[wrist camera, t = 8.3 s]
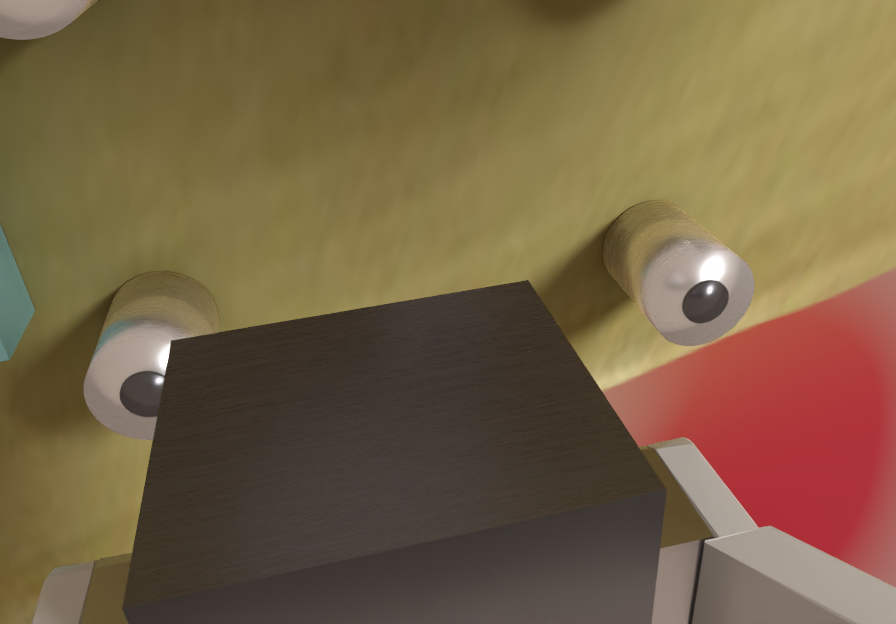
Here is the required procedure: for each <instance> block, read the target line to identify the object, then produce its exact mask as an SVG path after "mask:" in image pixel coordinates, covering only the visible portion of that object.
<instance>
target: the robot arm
mask: <svg viewBox="0 0 896 624" xmlns="http://www.w3.org/2000/svg"><path fill="white" fill-rule="evenodd" d="M639 448H640V450H641V451H642V453H643V454H644V456H645V457H646V459H647V460H648V462H649V463H650V465H651V466H652V468H653V469H654V471H655V472H656V474H657V475H658V477H659V479H660V480H661V482H662V483H663V485H664V486H665V488H666V489H667V493H666V502H665V511H664V519H663V528H662V537H661V545H660V554H659V563H658V572H657V580H656V589H655V598H654V606H653V615H652V624H896V588H895V587H893V586H891V585H889V584H887V583H885V582H883V581H881V580H879V579H877V578H875V577H873V576H871V575H869V574H867V573H865V572H863V571H861V570H859V569H857V568H855V567H853V566H851V565H849V564H847V563H845V562H843V561H841V560H839V559H837V558H834V557H832V556H830V555H828V554H826V553H824V552H822V551H820V550H818V549H816V548H814V547H812V546H810V545H808V544H806V543H804V542H802V541H800V540H798V539H796V538H794V537H792V536H790V535H788V534H786V533H784V532H782V531H780V530H778V529H776V528H774V527H772V526H766V527H761V528H759V527H758V526H757V525H756V524H755V522H754V521H753V520H752V518H751V517H750V516H749V515H748V513H747V512H746V511H745V509H744V508H743V507H742V506H741V504H740V503H739V502H738V500H737V499H736V498H735V496H734V495H733V494H732V493H731V491H730V490H729V489H728V487H727V486H726V485H725V484H724V482H723V481H722V480H721V478H720V477H719V476H718V475H717V473H716V472H715V471H714V470H713V468H712V467H711V466H710V464H709V463H708V462H707V460H706V459H705V458H704V457H703V456H702V454H701V453H700V451H699V450H698V449H697V448H696V446H695V445H694V444H693V442H692V441H690V440H688V439H686V438H685V437H682V438H677V439H673V440H668V441H664V442H659V443H655V444H650V445H647V446H646V447H645V446H641V447H639ZM131 557H132V553H128V554H123V555H117V556H112V557H106V558H101V559H99V560H96V561H90V562H84V563H79V564H73V565H68V566H62V567H57V568H54V569H53V570H52V571H51V572H50V574H49V575H48V576H47V578H46V579H45V581H44V583H43V586H42V590H41V593H40V596H39V599H38V603H37V606H36V609H35V613H34V616H33V619H32V622H31V624H129V623H128V621H127V619H126V616H125V614H124V612H123V610H122V606H123V601H124V595H125V590H126V585H127V579H128V574H129V568H130V563H131Z"/></svg>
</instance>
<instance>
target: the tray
mask: <svg viewBox="0 0 896 624" xmlns="http://www.w3.org/2000/svg"><path fill="white" fill-rule="evenodd" d="M34 312H35V309H34V306H33V304H32V301H31V299H30V296H29V294H28V292H27V289H26V287H25V284H24V282H23V279H22V277H21V274H20V272H19V269H18V267H17V264H16V262H15V259H14V257H13V254H12V252H11V249H10V247H9V245H8V242H7V240H6V237H5V235H4V232H3V230H2V227H1V225H0V361H7V360H10V359H11V357H12V355H13V353H14V351H15V349H16V347H17V345H18V343H19V341H20V339H21V337H22V335H23V333H24V331H25V329H26V327H27V326H28V324H29V322H30V320H31V318H32V316H33V314H34Z"/></svg>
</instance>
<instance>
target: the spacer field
mask: <svg viewBox="0 0 896 624" xmlns="http://www.w3.org/2000/svg"><path fill="white" fill-rule="evenodd" d="M97 1H98V0H0V37H2V38H7V39H16V40H30V39H37V38H42V37H45V36H49V35H52V34H54V33H56V32H58V31H60V30H62V29H63V28H64V27H66V26H67V25H69V24H70V23H71V22H72V21H74V20H75V19H76V18H77V17H79V16H80V15H81V14H82V13H84V12H85V11H86V10H87V9H88V8H90V7H91V6H92V5H93V4H95V3H96V2H97ZM603 261H604V264H605V267H606V269H607V271H608V272H609V273H610V275H611V276H612V277H613V278H614V279H615V280H616V282H617V283H618V284H619V285H620V286H621V288H622V289H623V290H624V291H625V292H626V293H627V295H628V296H629V297H630V298H631V299H632V301H633V302H634V303H635V304H636V305H637V306H638V308H639V309H640V310H641V311H642V312H643V314H644V315H645V316H646V317H647V318H648V319H649V321H650V322H651V323H652V324H653V325H654V327H655V328H656V329H657V330H658V331H659V332H660V334H661V335H662V336H663V337H664V338H665V339H667V340H668V341H670V342H672V343H674V344H678V345H683V346H695V345H701V344H705V343H708V342H711V341H713V340H715V339H717V338H719V337H721V336H722V335H724V334H725V333H727V332H728V331H729V330H731V329H732V328H733V327H734V326H735V325H736V324H737V323H738V322H739V321H740V319H741V318H742V317H743V316H744V314H745V312H746V311H747V309H748V307H749V305H750V303H751V300H752V297H753V293H754V278H753V274H752V272H751V269H750V268H749V266H748V265H747V264H746V262H745V261H743V260H742V259H741V258H740V257H739V256H737V255H736V254H735V253H734V252H733V251H731V250H730V249H729V248H728V247H726V246H725V245H724V244H723V243H722V242H720V241H719V240H718V239H717V238H716V237H714V236H713V235H712V234H711V233H709V232H708V231H707V230H706V229H705V228H703V227H702V226H701V225H700V224H699V223H697V222H696V221H695V220H694V219H692V218H691V217H690V216H689V215H688V214H686V213H685V212H684V211H683V210H682V209H680V208H679V207H678V206H676V205H675V204H673V203H670V202H668V201H663V200H651V201H646V202H643V203H640V204H637V205H635V206H633V207H631V208H630V209H628V210H627V211H625V212H624V213H623V214H622V215H621V216H619V217H618V218H617V220H616V221H615V222H614V223H613V224H612V226H611V227H610V229H609V231H608V233H607V235H606V238H605V240H604V244H603ZM218 327H219V312H218V308H217V305H216V302H215V300H214V298H213V297H212V295H211V294H210V293H209V292H208V291H207V289H206V288H205V287H203V286H202V285H201V284H200V283H198V282H197V281H195V280H193V279H191V278H189V277H187V276H184V275H182V274H178V273H174V272H165V271H158V272H150V273H145V274H142V275H139V276H136V277H134V278H132V279H131V280H129V281H128V282H126V283H125V284H124V285H123V286H121V288H120V289H119V290H118V291H117V293H116V294H115V296H114V298H113V300H112V303H111V306H110V308H109V311H108V314H107V317H106V320H105V323H104V326H103V329H102V331H101V334H100V337H99V340H98V343H97V346H96V349H95V351H94V354H93V357H92V360H91V363H90V366H89V369H88V371H87V374H86V377H85V381H84V398H85V401H86V404H87V406H88V408H89V410H90V411H91V413H92V414H93V416H94V417H95V418H96V419H97V420H98V421H99V422H100V423H102V424H103V425H104V426H106V427H107V428H109V429H110V430H112V431H114V432H116V433H118V434H121V435H123V436H127V437H130V438H135V439H143V440H153V437H154V432H155V426H156V421H157V415H158V410H159V404H160V399H161V394H162V388H163V383H164V377H165V372H166V366H167V361H168V355H169V350H170V344H171V340H177V339H183V338H189V337H195V336H201V335H207V334H213V333H218Z"/></svg>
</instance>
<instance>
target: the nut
mask: <svg viewBox="0 0 896 624" xmlns="http://www.w3.org/2000/svg"><path fill="white" fill-rule="evenodd" d="M666 493H667V489H666V488H665V486H664V485H663V483H662V482H661V480H660V479H659V477H658V475H657V474H656V472H655V471H654V469H653V468H652V466H651V465H650V463H649V462H648V460H647V459H646V457H645V456H644V454H643V453H642V451H641V450H640V448H639V447H638V445H637V444H636V442H635V441H634V439H633V438H632V436H631V435H630V433H629V432H628V430H627V429H626V427H625V426H624V424H623V423H622V421H621V420H620V418H619V417H618V415H617V414H616V412H615V411H614V409H613V408H612V406H611V405H610V403H609V402H608V400H607V399H606V397H605V395H604V394H603V392H602V391H601V389H600V388H599V386H598V385H597V383H596V382H595V380H594V379H593V377H592V376H591V374H590V373H589V371H588V370H587V368H586V367H585V365H584V364H583V362H582V361H581V359H580V358H579V356H578V355H577V353H576V352H575V350H574V349H573V347H572V346H571V344H570V343H569V341H568V340H567V338H566V337H565V335H564V334H563V332H562V331H561V329H560V328H559V326H558V325H557V323H556V322H555V320H554V318H553V317H552V315H551V314H550V312H549V311H548V309H547V308H546V306H545V305H544V303H543V302H542V300H541V299H540V297H539V296H538V294H537V293H536V291H535V290H534V288H533V287H532V285H531V284H530V282H529V281H528V280H527V281H521V282H515V283H509V284H503V285H497V286H491V287H485V288H479V289H473V290H467V291H461V292H455V293H450V294H444V295H438V296H432V297H426V298H420V299H414V300H408V301H402V302H396V303H390V304H384V305H378V306H373V307H367V308H361V309H355V310H349V311H343V312H337V313H331V314H325V315H319V316H313V317H307V318H302V319H296V320H290V321H284V322H278V323H272V324H266V325H260V326H254V327H248V328H242V329H236V330H230V331H225V332H219V333H213V334H207V335H201V336H195V337H189V338H183V339H177V340H171V344H170V350H169V355H168V361H167V366H166V372H165V377H164V383H163V388H162V394H161V399H160V404H159V410H158V415H157V421H156V426H155V432H154V437H153V443H152V448H151V454H150V459H149V464H148V470H147V475H146V481H145V486H144V492H143V497H142V503H141V508H140V514H139V519H138V525H137V530H136V535H135V541H134V546H133V552H132V557H131V563H130V568H129V574H128V579H127V585H126V590H125V595H124V601H123V606H122V610H123V612H124V614H125V616H126V619H127V621H128V623H129V624H652V615H653V606H654V598H655V589H656V580H657V572H658V563H659V554H660V545H661V537H662V528H663V519H664V511H665V502H666Z"/></svg>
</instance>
